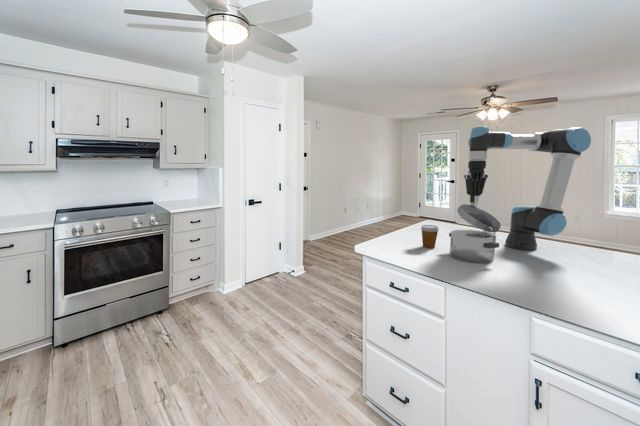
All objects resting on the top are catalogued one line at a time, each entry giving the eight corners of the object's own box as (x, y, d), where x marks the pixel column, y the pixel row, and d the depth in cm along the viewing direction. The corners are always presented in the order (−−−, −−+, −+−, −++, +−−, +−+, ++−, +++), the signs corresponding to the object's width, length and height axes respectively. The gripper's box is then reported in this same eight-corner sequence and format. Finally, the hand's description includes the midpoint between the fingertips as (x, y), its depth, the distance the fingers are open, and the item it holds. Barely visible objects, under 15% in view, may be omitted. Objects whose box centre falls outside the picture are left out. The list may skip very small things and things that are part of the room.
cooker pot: (468, 248, 168) (470, 227, 166) (510, 261, 144) (513, 237, 142) (437, 252, 160) (439, 230, 158) (476, 267, 137) (478, 241, 135)
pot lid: (471, 227, 163) (475, 221, 163) (506, 236, 144) (511, 228, 144) (449, 205, 155) (454, 198, 156) (483, 211, 136) (488, 203, 137)
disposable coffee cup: (435, 245, 174) (436, 224, 172) (439, 249, 165) (441, 228, 163) (418, 244, 175) (419, 224, 173) (422, 249, 166) (423, 228, 164)
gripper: (481, 160, 149) (477, 207, 153) (460, 160, 145) (457, 208, 149) (494, 160, 143) (489, 209, 146) (473, 160, 138) (469, 210, 142)
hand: (473, 208), depth 148 cm, fingers closed
